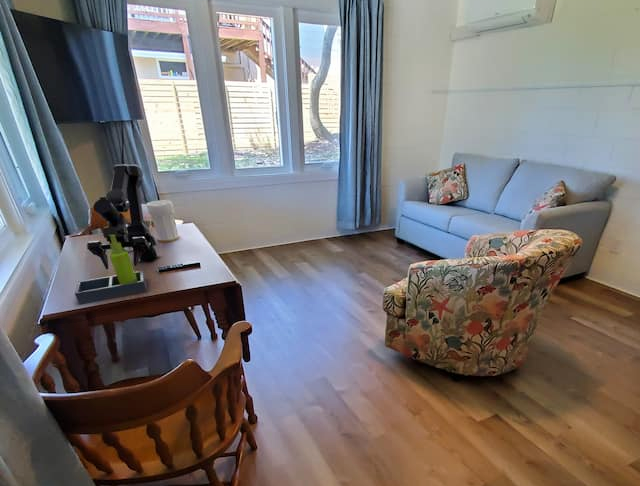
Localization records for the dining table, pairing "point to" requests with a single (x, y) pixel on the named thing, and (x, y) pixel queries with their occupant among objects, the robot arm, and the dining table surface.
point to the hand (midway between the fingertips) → (121, 267)
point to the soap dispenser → (121, 262)
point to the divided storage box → (108, 288)
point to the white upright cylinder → (163, 220)
